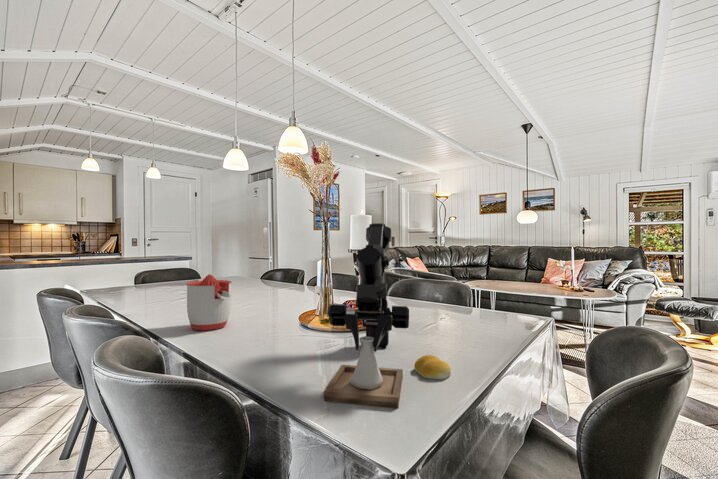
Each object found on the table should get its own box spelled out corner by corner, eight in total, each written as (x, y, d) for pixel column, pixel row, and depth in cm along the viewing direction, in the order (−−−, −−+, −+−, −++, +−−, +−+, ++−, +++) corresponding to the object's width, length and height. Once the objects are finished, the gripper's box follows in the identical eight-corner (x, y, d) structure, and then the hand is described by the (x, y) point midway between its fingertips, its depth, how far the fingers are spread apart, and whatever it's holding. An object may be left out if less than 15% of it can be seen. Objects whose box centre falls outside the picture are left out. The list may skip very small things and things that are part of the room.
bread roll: (428, 383, 77) (428, 365, 78) (409, 369, 86) (409, 353, 86) (458, 378, 80) (458, 361, 80) (437, 365, 89) (437, 350, 89)
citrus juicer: (206, 336, 114) (206, 277, 115) (176, 329, 123) (177, 274, 123) (243, 326, 128) (243, 273, 128) (214, 320, 137) (214, 271, 137)
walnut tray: (324, 400, 68) (324, 390, 68) (341, 372, 83) (341, 364, 83) (398, 408, 65) (398, 397, 65) (402, 377, 80) (402, 369, 80)
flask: (373, 393, 69) (373, 345, 69) (344, 385, 73) (344, 339, 73) (388, 381, 75) (389, 336, 75) (361, 374, 79) (361, 332, 79)
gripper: (329, 270, 79) (317, 328, 68) (409, 271, 77) (410, 332, 66) (335, 297, 87) (326, 354, 76) (408, 299, 85) (409, 358, 74)
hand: (366, 349), depth 73 cm, fingers open, 4 cm apart
